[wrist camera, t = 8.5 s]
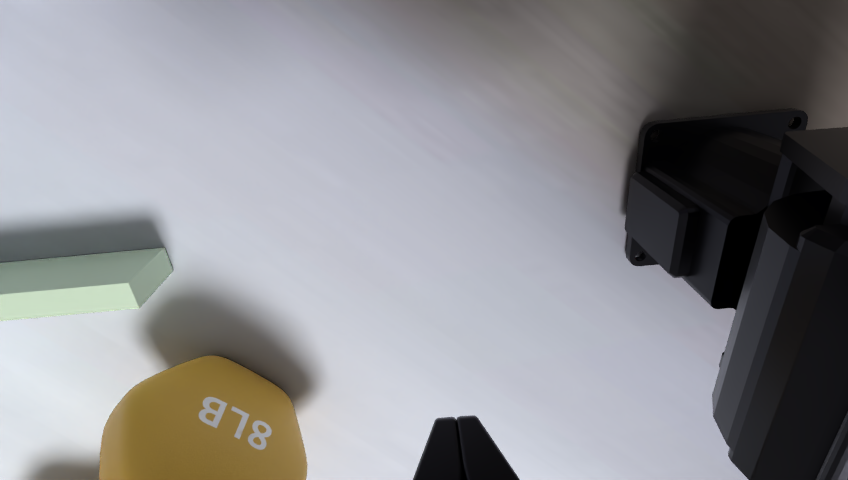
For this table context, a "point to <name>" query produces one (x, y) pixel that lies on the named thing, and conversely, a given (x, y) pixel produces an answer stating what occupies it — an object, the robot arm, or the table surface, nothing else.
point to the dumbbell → (203, 427)
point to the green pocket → (81, 283)
